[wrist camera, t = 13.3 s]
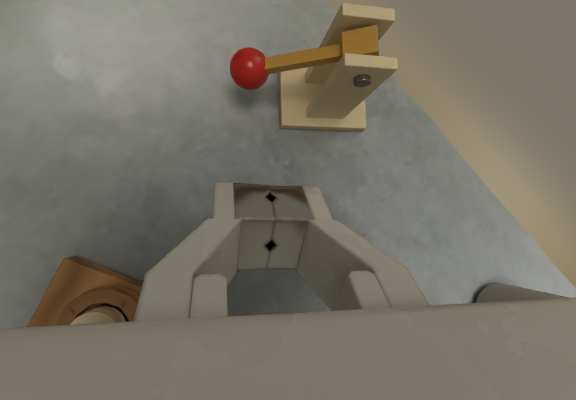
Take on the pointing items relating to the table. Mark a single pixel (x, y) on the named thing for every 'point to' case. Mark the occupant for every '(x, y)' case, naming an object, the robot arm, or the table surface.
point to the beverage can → (511, 294)
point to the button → (100, 316)
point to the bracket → (337, 78)
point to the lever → (299, 57)
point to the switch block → (85, 293)
